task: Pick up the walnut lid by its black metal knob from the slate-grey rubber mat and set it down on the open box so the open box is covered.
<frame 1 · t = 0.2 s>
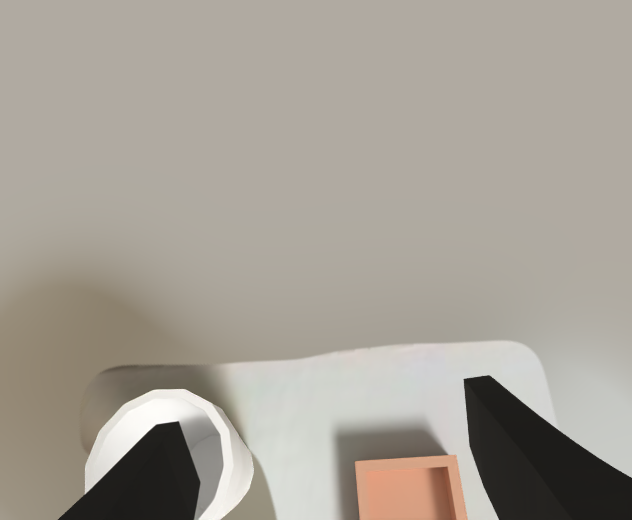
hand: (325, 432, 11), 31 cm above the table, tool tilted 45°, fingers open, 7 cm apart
foam cup: (218, 471, 40), on the table
open box: (408, 513, 37), on the table
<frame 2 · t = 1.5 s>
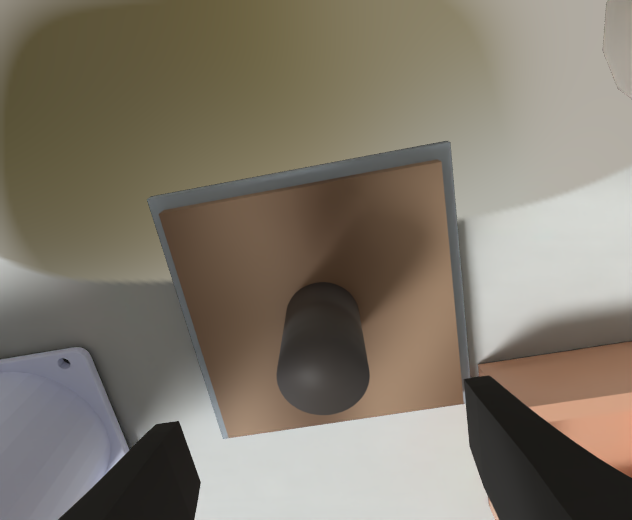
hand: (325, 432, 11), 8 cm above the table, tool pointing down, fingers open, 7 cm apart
lid: (322, 309, 18), resting on mat
mat: (322, 303, 18), on the table
open box: (573, 426, 20), on the table
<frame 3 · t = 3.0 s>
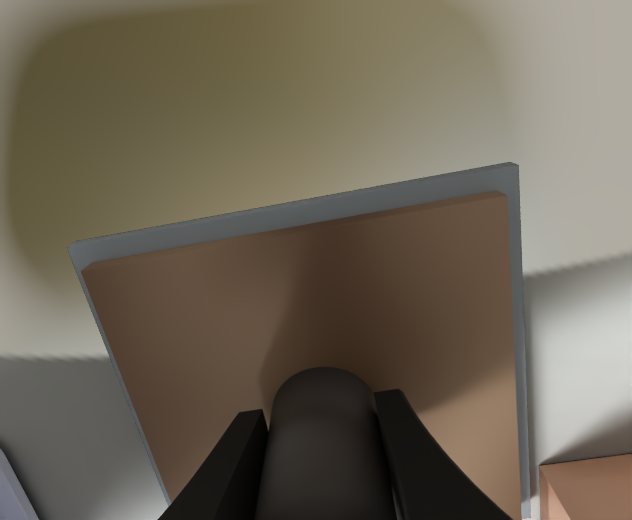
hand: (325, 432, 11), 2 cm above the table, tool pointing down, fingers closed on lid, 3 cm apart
lid: (324, 397, 13), resting on mat, touching gripper
mat: (324, 386, 13), on the table
when the fingers open (5 cm above the table, at t = 6.4 s): lid drops 1 cm, resting on open box.
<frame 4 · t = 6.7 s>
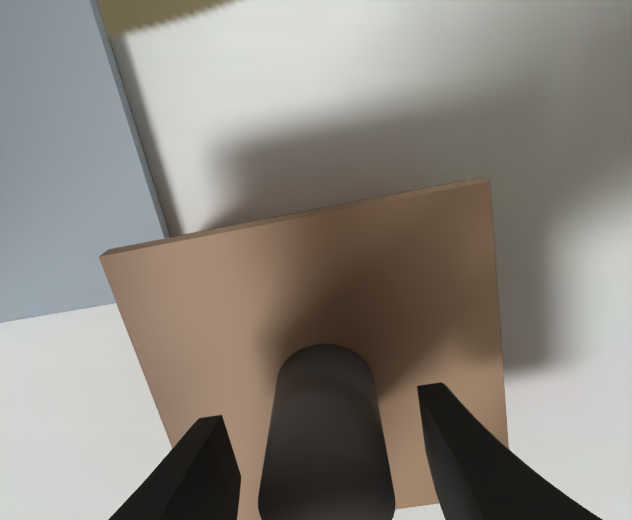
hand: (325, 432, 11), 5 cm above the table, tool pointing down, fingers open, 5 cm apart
lid: (325, 374, 14), point 3 cm above the table, touching open box
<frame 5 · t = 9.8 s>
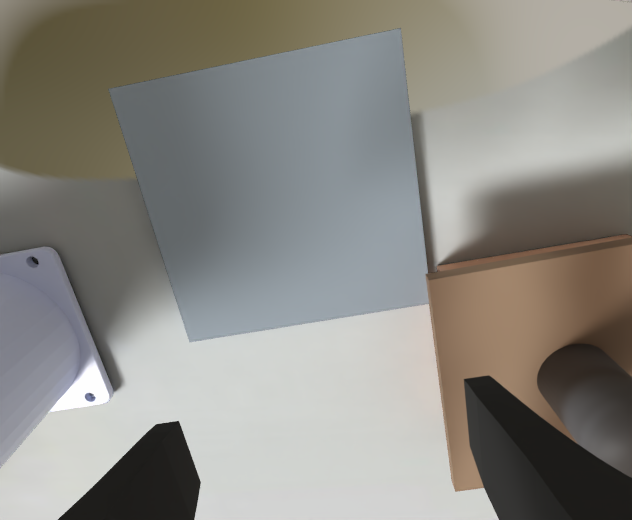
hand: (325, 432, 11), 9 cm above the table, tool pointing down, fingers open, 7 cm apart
lid: (566, 366, 18), point 3 cm above the table, touching open box
mat: (283, 201, 19), on the table
open box: (532, 331, 21), on the table
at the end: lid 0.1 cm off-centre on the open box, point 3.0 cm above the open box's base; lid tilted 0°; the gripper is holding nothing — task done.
